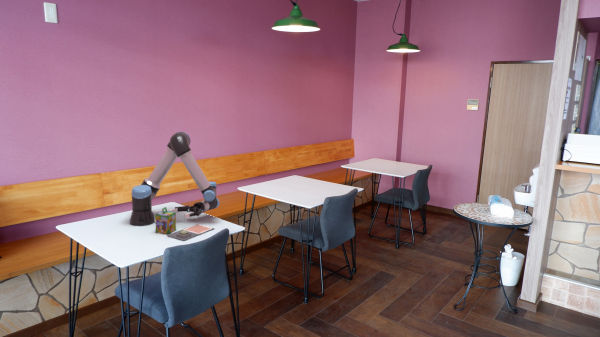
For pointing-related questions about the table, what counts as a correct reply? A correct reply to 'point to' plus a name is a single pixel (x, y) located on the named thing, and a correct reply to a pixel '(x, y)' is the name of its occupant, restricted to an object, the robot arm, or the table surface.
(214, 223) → the table surface
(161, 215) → the chalk box
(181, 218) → the table surface
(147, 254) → the table surface
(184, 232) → the button
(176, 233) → the slate board
